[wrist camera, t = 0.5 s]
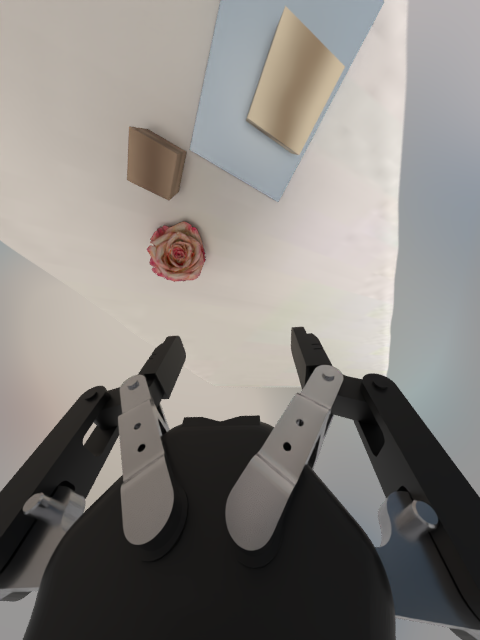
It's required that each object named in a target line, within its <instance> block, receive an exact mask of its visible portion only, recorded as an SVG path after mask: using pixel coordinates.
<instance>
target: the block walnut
mask: <svg viewBox="0 0 480 640" xmlns="http://www.w3.org/2000/svg"><path fill="white" fill-rule="evenodd" d="M185 157H186V151H184V150H183V149H181V148H179V147H177V146H176V145H174V144H172V143H171V142H169V141H167V140H165V139H164V138H162V137H160V136H159V135H157V134H155V133H153V132H152V131H150V130H148V129H143V128H136V127H129V144H128V170H127V180H128V181H130V182H132V183H134V184H136V185H138V186H140V187H142V188H144V189H146V190H148V191H150V192H153V193H155V194H157V195H159V196H161V197H163V198H165V199H167V200H170V199H171V198H172V197H173V196H174V195H175V194H177V193H178V192H179V187H180V182H181V177H182V172H183V167H184V162H185Z"/></svg>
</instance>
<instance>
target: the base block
mask: <svg viewBox="0 0 480 640" xmlns="http://www.w3.org/2000/svg"><path fill="white" fill-rule="evenodd" d="M344 68H345V66H344V65H343V64H342V63H341V62H340V61H339V60H338V59H337V58H336V57H335V56H334V55H333V54H332V53H331V52H330V51H329V50H328V49H327V48H326V46H325V45H324V44H323V43H322V42H321V41H320V40H319V39H318V38H317V37H316V36H315V35H314V34H313V33H312V32H311V31H310V30H309V29H308V28H307V27H306V26H305V25H304V24H303V23H302V22H301V21H300V20H299V19H298V18H297V17H296V16H295V15H294V14H293V13H292V12H291V11H290V10H289V9H288V8H287V7H286V6H285V8H284V10H283V13H282V15H281V18H280V20H279V23H278V25H277V28H276V31H275V34H274V37H273V40H272V43H271V46H270V49H269V52H268V55H267V58H266V61H265V64H264V67H263V70H262V73H261V76H260V79H259V82H258V85H257V88H256V91H255V94H254V97H253V100H252V103H251V106H250V109H249V112H248V115H247V118H246V121H247V122H248V123H250V124H251V125H252V126H254V127H255V128H257V129H258V130H259V131H261V132H262V133H264V134H265V135H266V136H268V137H269V138H271V139H272V140H273V141H275V142H276V143H278V144H279V145H280V146H282V147H283V148H285V149H286V150H287V151H289V152H290V153H292V154H296V155H300V153H301V151H302V149H303V147H304V145H305V143H306V141H307V139H308V137H309V136H310V134H311V132H312V130H313V128H314V126H315V124H316V122H317V120H318V118H319V116H320V114H321V112H322V110H323V108H324V107H325V105H326V103H327V101H328V99H329V97H330V95H331V93H332V91H333V89H334V87H335V85H336V83H337V81H338V80H339V78H340V76H341V74H342V72H343V70H344Z"/></svg>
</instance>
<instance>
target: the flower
mask: <svg viewBox="0 0 480 640" xmlns="http://www.w3.org/2000/svg"><path fill="white" fill-rule="evenodd" d="M183 230H184V231H183ZM185 233H186V234H185ZM150 240H151V242H150V243H152V244H153V245H154V246H149V247H148V248H147V251H148V252H149V254H150V256H151V259H150V265H152V266H153V267H155V268H152V271H153V272H154V273H157V275H158V276H161V277H165V278H166V279H167V280H172V281H174V282H175V281H186V280H194V279H196V278H198V276H199V275H200V273H201V270H202V267H203V265H204V262H205V260H206V259H205V258H206V257H205V256H204V255H205V252H204V249H203V245H202V240H201V238H200V235H199V233H198V231H197V229H196V228H195V227H191V224H189V223H187V222H184V221H183V222H181V223H178V224H176V225H174V226H171V227H169V226H165V225H164V226H163V227H160V228H158V229H157V231H156V232H154V234H153V236H152V238H151V239H150Z"/></svg>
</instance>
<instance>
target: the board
mask: <svg viewBox="0 0 480 640" xmlns="http://www.w3.org/2000/svg"><path fill="white" fill-rule="evenodd" d="M383 4H384V1H383V0H221V1H220V6H219V11H218V15H217V20H216V25H215V30H214V35H213V40H212V44H211V49H210V54H209V59H208V64H207V68H206V73H205V78H204V83H203V88H202V92H201V97H200V102H199V107H198V112H197V116H196V121H195V126H194V131H193V136H192V141H191V145H190V150H191V151H192V152H194V153H196V154H198V155H199V156H201V157H203V158H204V159H206V160H208V161H209V162H211V163H213V164H214V165H216V166H218V167H220V168H221V169H223V170H225V171H226V172H228V173H230V174H231V175H233V176H235V177H237V178H238V179H240V180H242V181H243V182H245V183H247V184H248V185H250V186H252V187H253V188H255V189H257V190H259V191H260V192H262V193H264V194H265V195H267V196H269V197H270V198H272V199H274V200H275V201H277V202H279V200H280V198H281V196H282V194H283V192H284V191H285V189H286V187H287V185H288V183H289V181H290V179H291V177H292V175H293V174H294V172H295V170H296V168H297V166H298V164H299V162H300V160H301V158H302V157H303V155H304V153H305V151H306V149H307V147H308V145H309V143H310V141H311V140H312V138H313V136H314V134H315V132H316V130H317V128H318V126H319V124H320V123H321V121H322V119H323V117H324V115H325V113H326V111H327V109H328V107H329V106H330V104H331V102H332V100H333V98H334V96H335V94H336V92H337V90H338V89H339V87H340V85H341V83H342V81H343V79H344V77H345V75H346V73H347V72H348V70H349V68H350V66H351V64H352V62H353V60H354V58H355V56H356V55H357V53H358V51H359V49H360V47H361V45H362V43H363V41H364V39H365V38H366V36H367V34H368V32H369V30H370V28H371V26H372V24H373V22H374V21H375V19H376V17H377V15H378V13H379V11H380V9H381V7H382V5H383ZM285 6H286V7H287V8H288V9H289V10H290V11H291V12H292V13H293V14H294V15H295V16H296V17H297V18H298V19H299V20H300V21H301V22H302V23H303V24H304V25H305V26H306V27H307V28H308V29H309V30H310V31H311V32H312V33H313V34H314V35H315V36H316V37H317V38H318V39H319V40H320V41H321V42H322V43H323V44H324V45H325V46H326V48H327V49H328V50H329V51H330V52H331V53H332V54H333V55H334V56H335V57H336V58H337V59H338V60H339V61H340V62H341V63H342V64H343V65H344V66H345V68H344V70H343V72H342V74H341V76H340V78H339V80H338V81H337V83H336V85H335V87H334V89H333V91H332V93H331V95H330V97H329V99H328V101H327V103H326V105H325V107H324V108H323V110H322V112H321V114H320V116H319V118H318V120H317V122H316V124H315V126H314V128H313V130H312V132H311V134H310V136H309V137H308V139H307V141H306V143H305V145H304V147H303V149H302V151H301V153H300V155H296V154H292V153H290V152H289V151H287V150H286V149H285V148H283V147H282V146H280V145H279V144H278V143H276V142H275V141H273V140H272V139H271V138H269V137H268V136H266V135H265V134H264V133H262V132H261V131H259V130H258V129H257V128H255V127H254V126H252V125H251V124H250V123H248V122H247V121H246V118H247V115H248V112H249V109H250V106H251V103H252V100H253V97H254V94H255V91H256V88H257V85H258V82H259V79H260V76H261V73H262V70H263V67H264V64H265V61H266V58H267V55H268V52H269V49H270V46H271V43H272V40H273V37H274V34H275V31H276V28H277V25H278V23H279V20H280V18H281V15H282V13H283V10H284V8H285Z"/></svg>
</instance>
